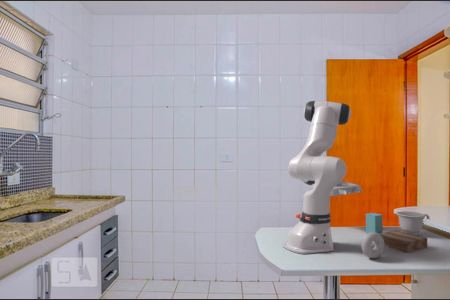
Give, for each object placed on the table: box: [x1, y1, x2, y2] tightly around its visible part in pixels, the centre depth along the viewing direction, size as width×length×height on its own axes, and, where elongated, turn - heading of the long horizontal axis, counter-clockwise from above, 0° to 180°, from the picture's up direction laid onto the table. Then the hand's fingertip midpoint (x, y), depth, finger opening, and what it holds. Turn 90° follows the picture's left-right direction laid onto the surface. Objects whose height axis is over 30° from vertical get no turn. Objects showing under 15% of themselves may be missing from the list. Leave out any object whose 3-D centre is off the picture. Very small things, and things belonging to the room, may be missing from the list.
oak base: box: [379, 230, 428, 253], centre depth 128 cm, size 14×14×4 cm
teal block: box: [365, 212, 384, 235], centre depth 140 cm, size 5×5×11 cm
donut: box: [361, 232, 386, 259], centre depth 113 cm, size 10×3×10 cm, turn 109°
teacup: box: [396, 211, 431, 236], centre depth 145 cm, size 12×15×10 cm
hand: (354, 191), depth 150 cm, fingers open, 8 cm apart
